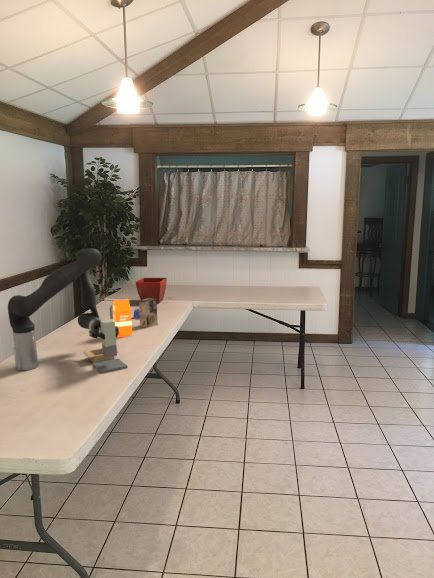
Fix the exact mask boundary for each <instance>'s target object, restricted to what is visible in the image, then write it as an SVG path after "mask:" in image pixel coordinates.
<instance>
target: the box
mask: <svg viewBox="0 0 434 578" xmlns="http://www.w3.org/2000/svg"><path fill="white" fill-rule="evenodd" d="M100 323H101V332H102V333H103V334H104V335H105V340H103V339H101V347H102V350H103V355H104V356H105V357H106V358H107V357H112V356H114V357H116V356H118V353H117V350H118V349H117V337H116V331H115V321H114V320H112V319H110V318H109V319H101V321H100Z"/></svg>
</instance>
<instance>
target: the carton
mask: <svg viewBox="0 0 434 578" xmlns="http://www.w3.org/2000/svg"><path fill="white" fill-rule="evenodd" d="M82 353H83V355H85V357H86V358H87V359H89V360H91V362H92V364H93V363H97V362H102V361H108V360H113V359H115V356H112V357H107V358H106V357H105V356H104V355H103V350H102V348H96V349H91V350H86V351H82ZM119 353H120V351H119V350H118V349H117V354H119Z"/></svg>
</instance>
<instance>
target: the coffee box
mask: <svg viewBox="0 0 434 578" xmlns="http://www.w3.org/2000/svg"><path fill="white" fill-rule="evenodd" d="M157 305H158V303H157V301H156V299H154V298H147V299H143V300H141V299H139V300H138V309H139V312H140V319H139V326H140V327H143V328H147V329H148V328H150V327H153V326H157V325H159V321H158V306H157Z"/></svg>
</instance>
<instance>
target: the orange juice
mask: <svg viewBox="0 0 434 578" xmlns="http://www.w3.org/2000/svg"><path fill="white" fill-rule="evenodd" d="M112 301H113V302H112V305H113V320H114V321H115V326H118V328H119V334H118V336H117V337H116V338H122V337H129V336H130V337H132V336H133V321H132V318H131V316H132V310H131V305H130V299H129V298H128V299H121V300H119V299H118V300H112Z"/></svg>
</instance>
